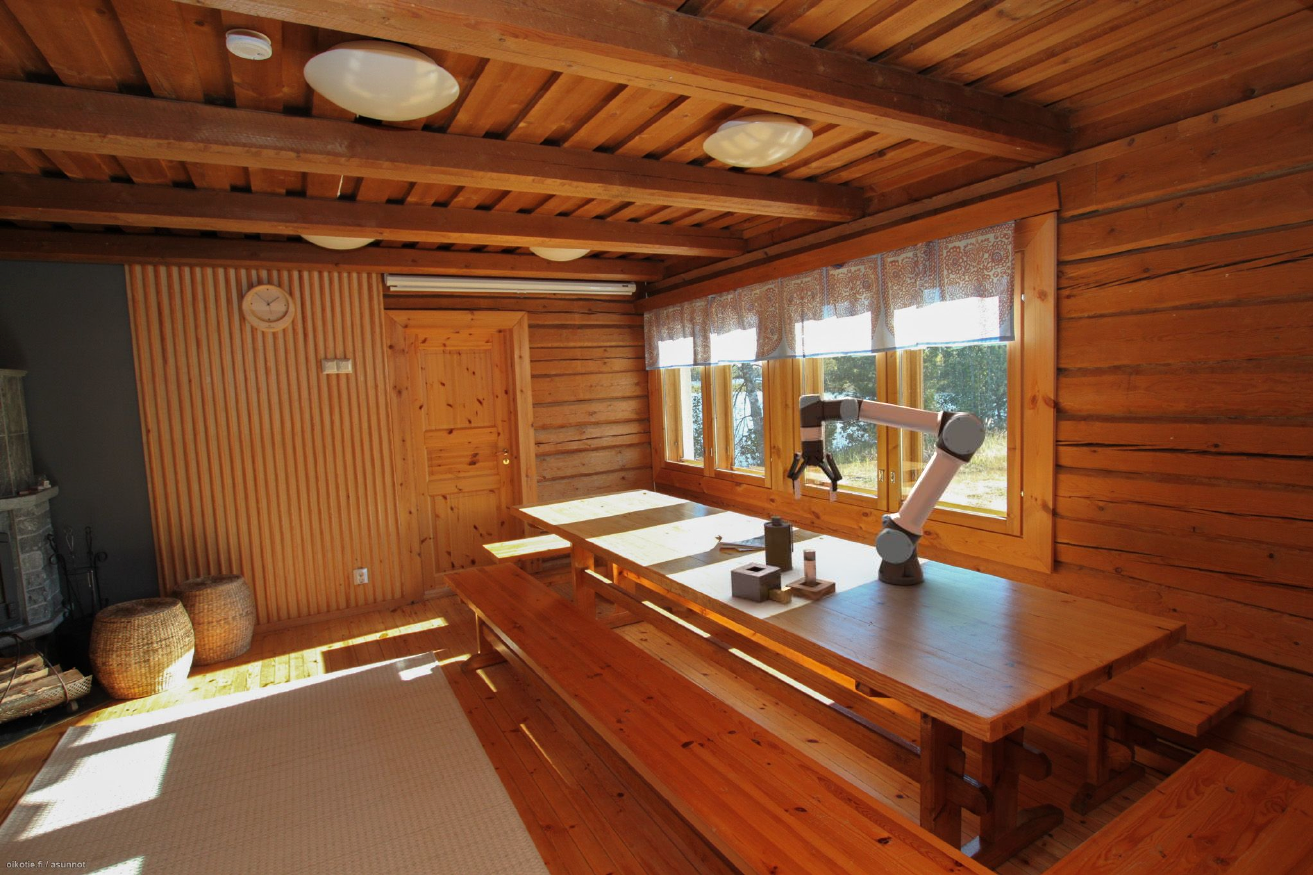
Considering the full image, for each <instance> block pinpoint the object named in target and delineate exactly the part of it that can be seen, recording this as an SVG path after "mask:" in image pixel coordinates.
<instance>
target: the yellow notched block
mask: <svg viewBox="0 0 1313 875" xmlns="http://www.w3.org/2000/svg"><path fill="white" fill-rule="evenodd" d="M768 600H773V601H777V602H780V604H782V605H785V604H788V603H790V602H792V595H791V588H790V587H786V586H785V587H783V588H781V590H777V589H773V588H770V589H768Z"/></svg>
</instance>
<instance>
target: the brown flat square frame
mask: <svg viewBox="0 0 1313 875" xmlns="http://www.w3.org/2000/svg"><path fill="white" fill-rule="evenodd" d="M816 582H817V586H816V587H814V588H812V587H807V586H805V582H804V576H802V578H798V579H796V580H793V581H791V582H789V583H787V584H785V586H784V587H785V588H786V587H790V588H791V596H795V597H799V598H804V599H808V600H812V601H815V602H816V601H819V600H821V599H823V598H824V597H827V596H828V595H831V594H833V593H834V592H836V582H834V581H829V580H825V579H819V578H816Z"/></svg>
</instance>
